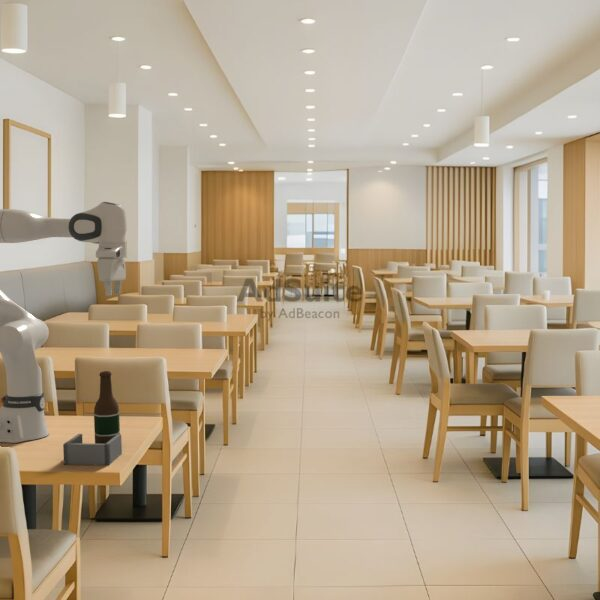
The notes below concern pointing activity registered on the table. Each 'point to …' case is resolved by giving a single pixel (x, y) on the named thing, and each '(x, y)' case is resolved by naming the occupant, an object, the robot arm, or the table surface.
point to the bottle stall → (91, 451)
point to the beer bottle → (106, 412)
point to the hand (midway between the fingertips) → (113, 295)
